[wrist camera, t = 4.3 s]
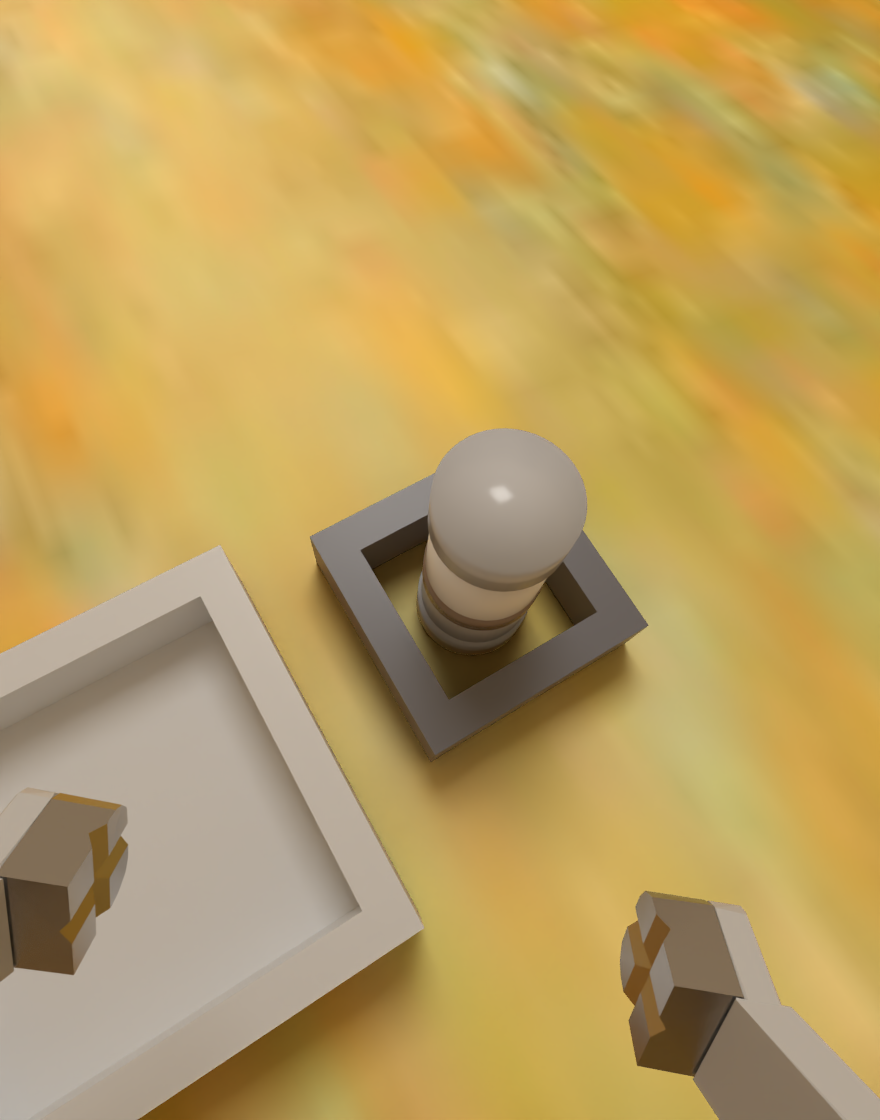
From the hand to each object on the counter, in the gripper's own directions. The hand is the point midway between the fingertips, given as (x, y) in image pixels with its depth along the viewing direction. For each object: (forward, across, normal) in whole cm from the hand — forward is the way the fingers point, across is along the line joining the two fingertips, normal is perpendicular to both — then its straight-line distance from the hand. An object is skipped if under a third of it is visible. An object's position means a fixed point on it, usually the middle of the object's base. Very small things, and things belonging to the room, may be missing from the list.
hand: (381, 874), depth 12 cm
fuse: (+15, -2, +3) cm, 15 cm away
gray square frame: (+15, -2, +3) cm, 15 cm away
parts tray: (+8, +8, +10) cm, 15 cm away
